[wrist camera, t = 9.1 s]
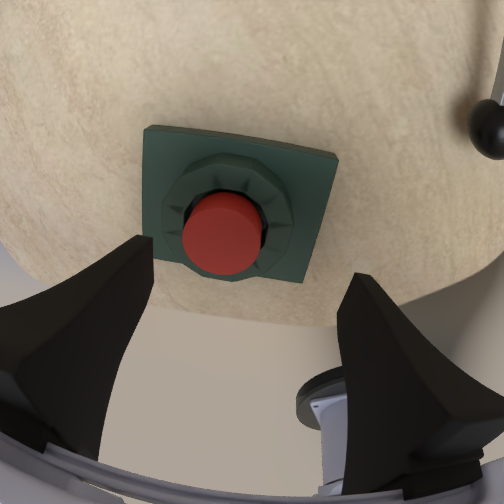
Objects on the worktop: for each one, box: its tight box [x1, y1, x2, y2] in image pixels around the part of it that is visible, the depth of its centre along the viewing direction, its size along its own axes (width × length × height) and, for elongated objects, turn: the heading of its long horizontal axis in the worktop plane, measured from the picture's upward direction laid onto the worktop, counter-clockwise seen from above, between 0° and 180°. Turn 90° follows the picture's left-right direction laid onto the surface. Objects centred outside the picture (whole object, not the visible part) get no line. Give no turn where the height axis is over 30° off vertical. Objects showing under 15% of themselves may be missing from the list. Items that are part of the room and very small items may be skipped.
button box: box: [142, 125, 339, 283], centre depth 17 cm, size 10×8×3 cm
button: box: [182, 192, 262, 275], centre depth 15 cm, size 4×4×2 cm
